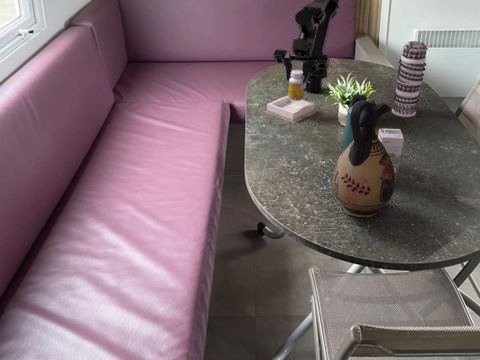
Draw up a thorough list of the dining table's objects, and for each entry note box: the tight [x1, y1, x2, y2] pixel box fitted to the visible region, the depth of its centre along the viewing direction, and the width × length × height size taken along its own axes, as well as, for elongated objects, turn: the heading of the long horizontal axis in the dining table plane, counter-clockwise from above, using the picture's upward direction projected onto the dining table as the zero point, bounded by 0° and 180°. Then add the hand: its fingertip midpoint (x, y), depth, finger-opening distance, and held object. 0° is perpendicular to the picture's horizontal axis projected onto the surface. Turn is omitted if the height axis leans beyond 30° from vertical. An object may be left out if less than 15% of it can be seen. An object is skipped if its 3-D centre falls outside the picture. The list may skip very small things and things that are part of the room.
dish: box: [266, 94, 315, 123], centre depth 181 cm, size 12×12×3 cm
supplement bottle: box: [287, 69, 305, 101], centre depth 174 cm, size 5×5×10 cm
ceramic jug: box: [331, 99, 396, 218], centre depth 122 cm, size 17×15×30 cm
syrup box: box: [377, 128, 404, 182], centre depth 139 cm, size 6×6×14 cm
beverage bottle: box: [342, 93, 368, 153], centre depth 148 cm, size 6×7×20 cm
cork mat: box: [263, 109, 319, 124], centre depth 182 cm, size 14×14×1 cm
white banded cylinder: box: [391, 40, 429, 118], centre depth 176 cm, size 9×9×25 cm
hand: (295, 81), depth 172 cm, fingers closed on supplement bottle, 5 cm apart
